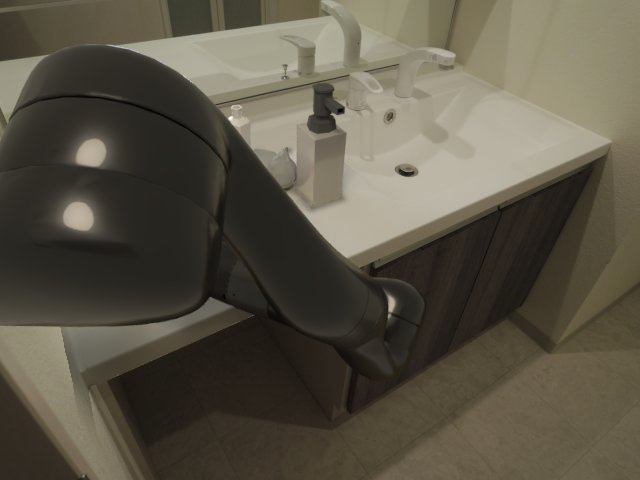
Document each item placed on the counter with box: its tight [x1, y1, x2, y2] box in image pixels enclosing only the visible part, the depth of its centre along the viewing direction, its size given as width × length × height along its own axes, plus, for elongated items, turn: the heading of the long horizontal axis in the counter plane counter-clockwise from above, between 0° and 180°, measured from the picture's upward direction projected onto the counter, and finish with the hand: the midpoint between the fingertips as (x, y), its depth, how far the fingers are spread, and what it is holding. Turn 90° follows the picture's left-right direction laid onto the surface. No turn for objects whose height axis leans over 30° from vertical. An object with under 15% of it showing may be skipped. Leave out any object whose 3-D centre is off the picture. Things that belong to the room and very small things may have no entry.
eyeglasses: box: [252, 146, 289, 167], centre depth 93 cm, size 14×8×4 cm, turn 77°
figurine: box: [266, 149, 297, 190], centre depth 83 cm, size 6×7×8 cm
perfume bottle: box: [227, 104, 251, 147], centre depth 83 cm, size 5×4×15 cm
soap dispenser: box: [295, 82, 348, 209], centre depth 75 cm, size 6×9×22 cm
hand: (138, 235), depth 53 cm, fingers open, 8 cm apart
